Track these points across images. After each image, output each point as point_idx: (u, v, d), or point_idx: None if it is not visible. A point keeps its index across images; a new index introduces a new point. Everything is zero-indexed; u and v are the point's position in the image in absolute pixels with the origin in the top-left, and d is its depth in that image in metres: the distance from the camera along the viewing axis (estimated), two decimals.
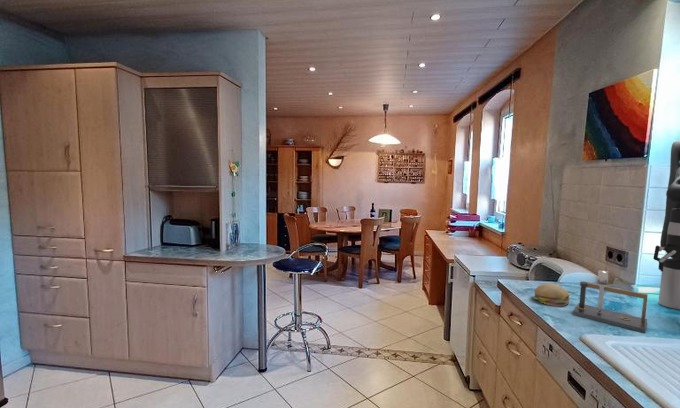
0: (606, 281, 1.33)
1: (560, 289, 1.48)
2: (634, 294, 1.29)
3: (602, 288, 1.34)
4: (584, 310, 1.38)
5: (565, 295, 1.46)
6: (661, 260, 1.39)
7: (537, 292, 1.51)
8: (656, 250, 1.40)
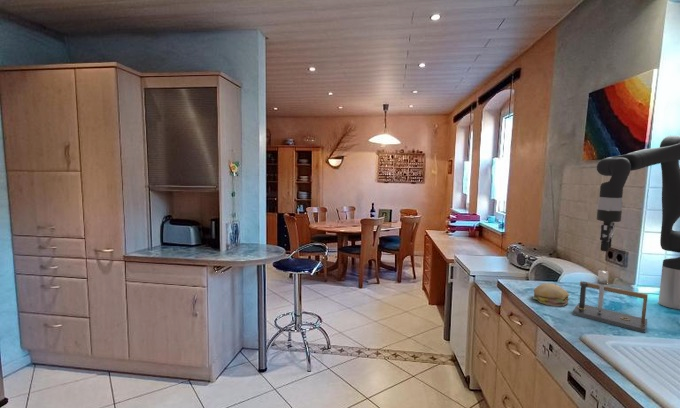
0: (606, 281, 1.33)
1: (559, 289, 1.48)
2: (634, 294, 1.29)
3: (602, 288, 1.34)
4: (584, 310, 1.38)
5: (564, 295, 1.46)
6: (609, 239, 1.29)
7: (536, 292, 1.51)
8: (609, 230, 1.27)
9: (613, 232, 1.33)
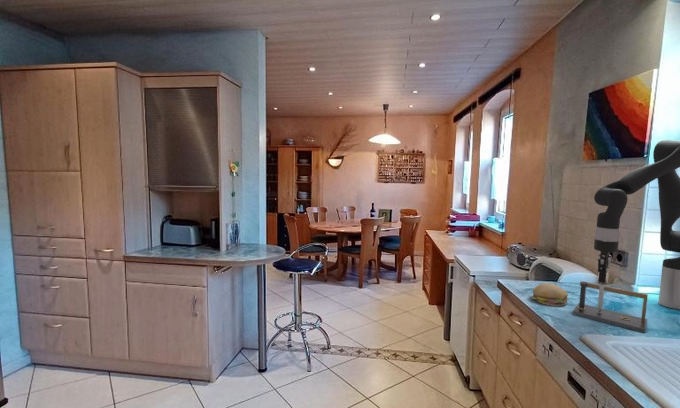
0: (606, 281, 1.33)
1: (558, 289, 1.48)
2: (634, 294, 1.29)
3: (602, 288, 1.34)
4: (584, 310, 1.38)
5: (563, 295, 1.46)
6: (606, 271, 1.32)
7: (535, 292, 1.51)
8: (606, 264, 1.29)
9: (610, 262, 1.34)
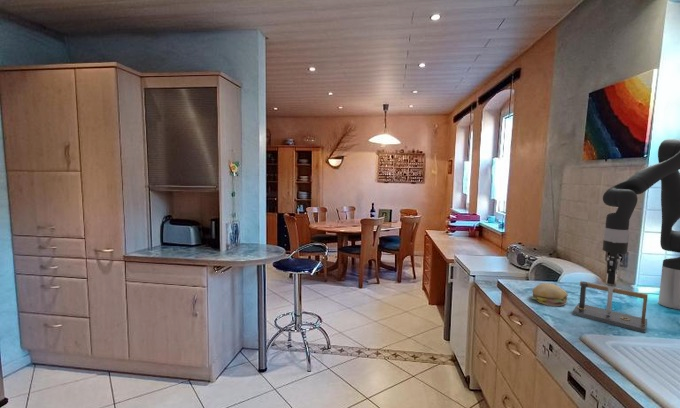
0: (615, 283, 1.31)
1: (558, 289, 1.48)
2: (634, 294, 1.29)
3: (611, 290, 1.32)
4: (584, 310, 1.38)
5: (563, 295, 1.46)
6: (615, 273, 1.30)
7: (535, 292, 1.51)
8: (615, 266, 1.27)
9: (619, 264, 1.32)
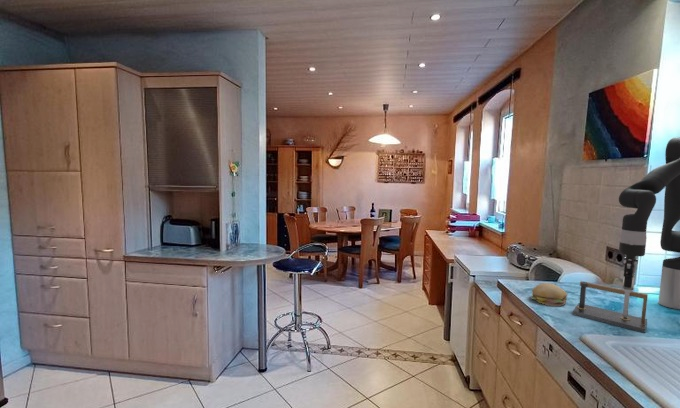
0: (632, 286, 1.28)
1: (558, 289, 1.48)
2: (634, 294, 1.29)
3: (628, 293, 1.29)
4: (584, 310, 1.38)
5: (562, 295, 1.46)
6: (632, 276, 1.26)
7: (535, 292, 1.51)
8: (632, 268, 1.24)
9: None
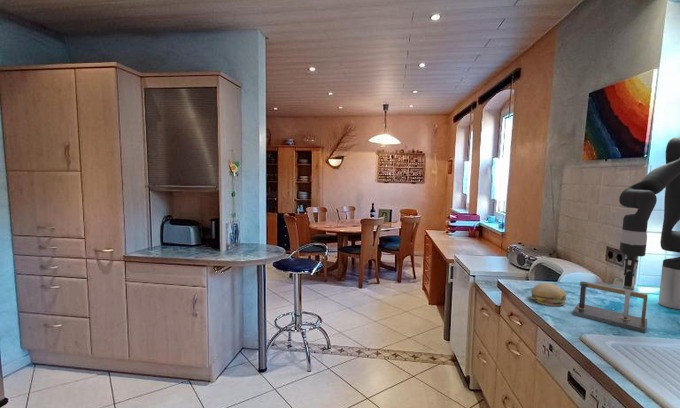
0: (633, 286, 1.28)
1: (557, 289, 1.48)
2: (634, 294, 1.29)
3: (628, 293, 1.29)
4: (584, 310, 1.38)
5: (562, 295, 1.46)
6: (633, 275, 1.25)
7: (534, 292, 1.51)
8: (633, 265, 1.23)
9: None
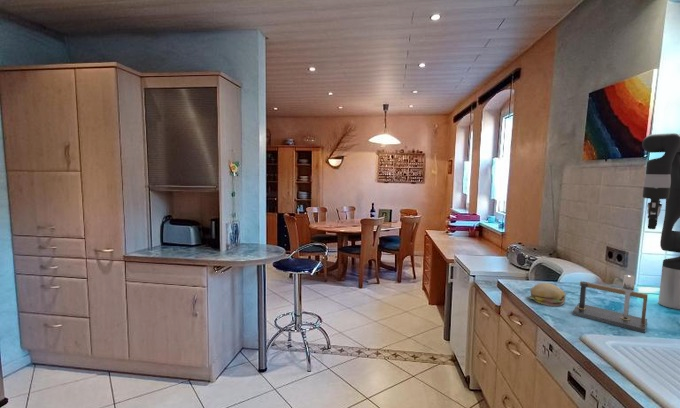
0: (633, 286, 1.28)
1: (556, 289, 1.48)
2: (634, 294, 1.29)
3: (628, 293, 1.29)
4: (584, 310, 1.38)
5: (561, 295, 1.46)
6: None
7: (533, 292, 1.51)
8: (657, 207, 1.25)
9: None
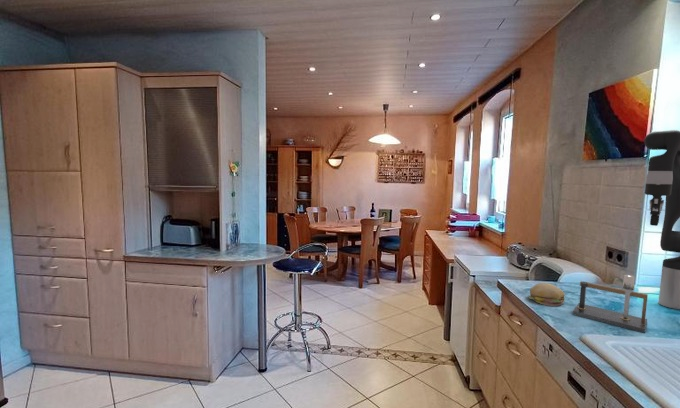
0: (633, 286, 1.28)
1: (555, 289, 1.48)
2: (634, 294, 1.29)
3: (628, 293, 1.29)
4: (584, 310, 1.38)
5: (560, 295, 1.46)
6: None
7: (533, 292, 1.51)
8: (660, 203, 1.26)
9: None
